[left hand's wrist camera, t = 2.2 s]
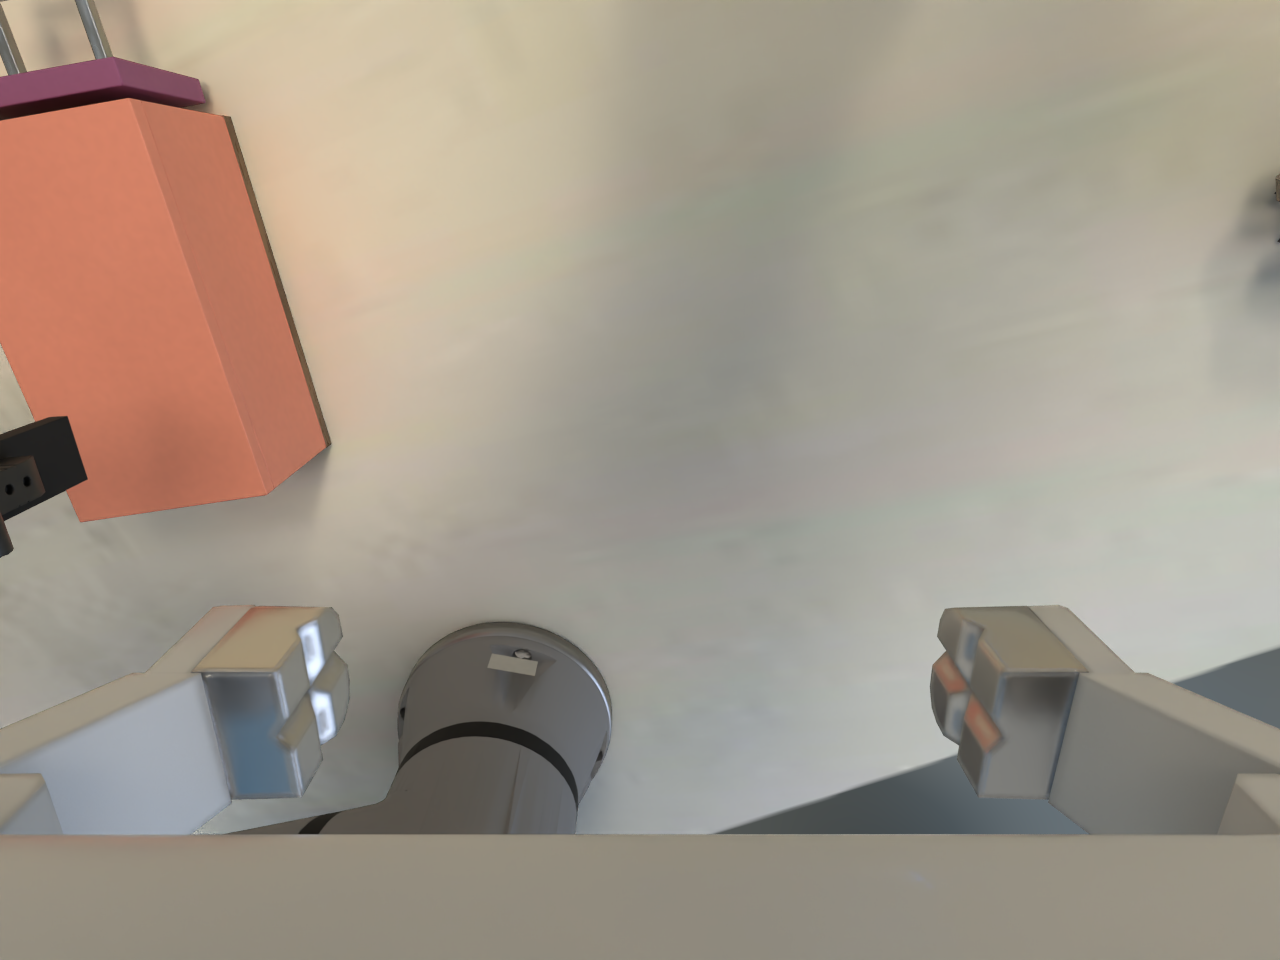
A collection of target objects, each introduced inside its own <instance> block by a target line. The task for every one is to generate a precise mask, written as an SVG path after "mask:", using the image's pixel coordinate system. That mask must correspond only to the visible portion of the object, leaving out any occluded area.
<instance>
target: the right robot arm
mask: <svg viewBox="0 0 1280 960" xmlns="http://www.w3.org/2000/svg"><path fill="white" fill-rule="evenodd" d="M86 480H88V478H87V475H86V472H85V468H84V465H83V462H82V459H81V456H80V453H79V450H78V447H77V444H76V441H75V438H74V435H73V431H72V428H71V425H70V422H69V419H68V416H57V417H48V418H45V419H42V420H39V421H36V422H34V423H31V424H28V425H25V426H23V427H20V428H17V429H14V430H11V431H9V432H6V433H3V434H0V558H1V557H2V556H5V555H8V554H9V553H10V552H12V551H13V549H14V548H13V545H12V542H11V540H10V537H9V534H8V532H7V529H6V526H5V523H4V521H5V520H7V519H9V518H11V517H13V516H15V515H17V514H19V513H21V512H23V511H25V510H27V509H29V508H31V507H33V506H35V505H37V504H39V503H42V502H44V501H46V500H48V499H50V498H52V497H54V496H56V495H58V494H60V493H62V492H64V491H66V490H68V489H70V488H72V487H74V486H76V485H78V484H80V483H82V482H84V481H86ZM611 720H612V709H611V701H610V696H609V692H608V689H607V687H606V684H605V682H604V680H603V678H602V676H601V674H600V673H599V671H598V670H597V668H596V667H595V666H594V664H593V663H592V662H591V661H590V659H589V658H588V657H587V656H586V655H585V654H584V653H583V652H581V651H580V650H579V649H578V648H577V647H575V646H574V645H573V644H571V643H570V642H568V641H567V640H565V639H563V638H561V637H560V636H558V635H555V634H553V633H551V632H549V631H546V630H543V629H541V628H537V627H534V626H530V625H524V624H519V623H507V622H496V623H485V624H479V625H475V626H471V627H467V628H464V629H461V630H458V631H456V632H454V633H452V634H450V635H448V636H446V637H444V638H443V639H441V640H440V641H438V642H437V643H435V644H434V645H433V646H432V647H431V648H429V649H428V650H427V651H426V652H425V653H424V655H423V656H422V657H421V658H420V659H419V661H418V662H417V664H416V665H415V667H414V668H413V670H412V672H411V674H410V676H409V678H408V680H407V682H406V685H405V687H404V689H403V692H402V694H401V698H400V701H399V707H398V736H399V743H398V756H399V768H398V771H397V773H396V776H395V778H394V780H393V783H392V785H391V787H390V790H389V792H388V794H387V796H386V798H385V799H384V800H383V801H381V802H379V803H377V804H373V805H368V806H363V807H358V808H354V809H349V810H344V811H340V812H335V813H329V814H324V815H319V816H314V817H309V818H304V819H299V820H294V821H289V822H283V823H278V824H273V825H268V826H263V827H258V828H253V829H248V830H243V831H237V832H232V833H227V834H575V831H576V821H577V811H578V805H579V803H580V801H581V799H582V798H583V796H584V794H585V792H586V791H587V789H588V787H589V785H590V782H591V780H592V779H593V778H594V776H595V774H596V773H597V771H598V769H599V768H600V766H601V764H602V762H603V760H604V758H605V755H606V753H607V750H608V746H609V742H610V735H611Z"/></svg>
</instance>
